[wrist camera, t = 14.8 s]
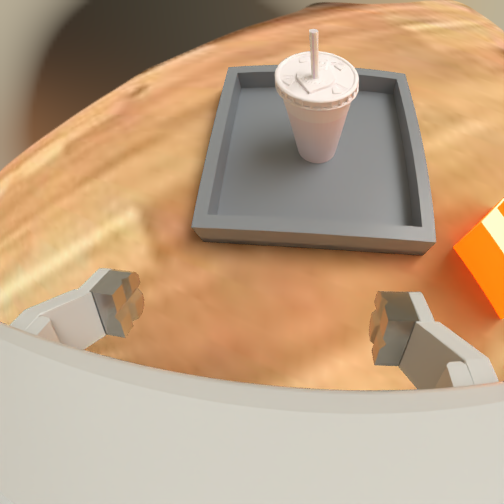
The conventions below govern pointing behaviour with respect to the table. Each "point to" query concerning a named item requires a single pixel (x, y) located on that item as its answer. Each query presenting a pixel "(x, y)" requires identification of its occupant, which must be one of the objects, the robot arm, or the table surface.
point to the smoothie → (316, 98)
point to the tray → (316, 172)
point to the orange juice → (487, 255)
